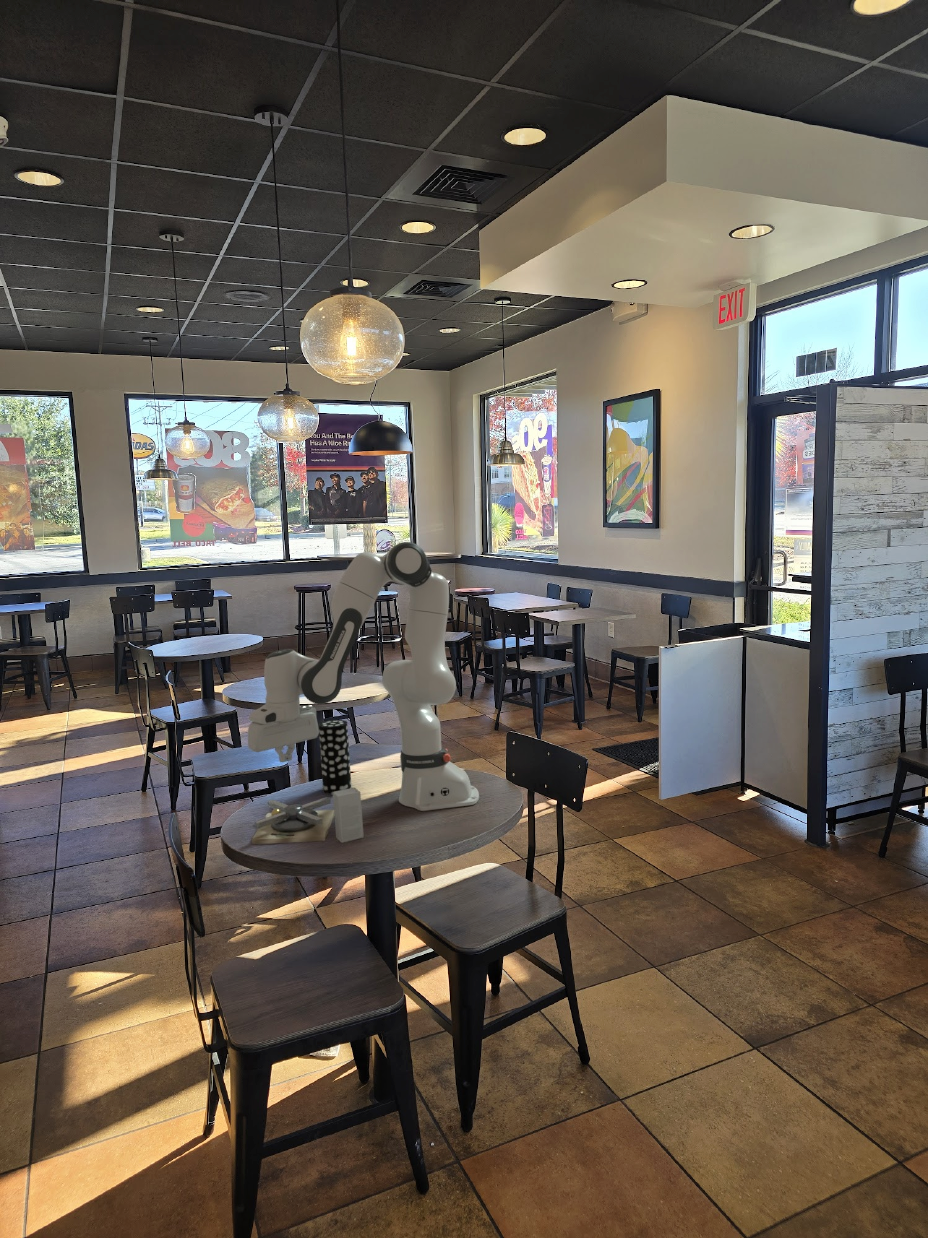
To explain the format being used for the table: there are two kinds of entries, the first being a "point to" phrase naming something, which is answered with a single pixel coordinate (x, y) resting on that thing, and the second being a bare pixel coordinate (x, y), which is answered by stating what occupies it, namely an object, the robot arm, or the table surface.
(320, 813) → the beige base plate
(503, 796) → the table surface
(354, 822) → the skincare box
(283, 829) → the capstan
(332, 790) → the spotted tube
